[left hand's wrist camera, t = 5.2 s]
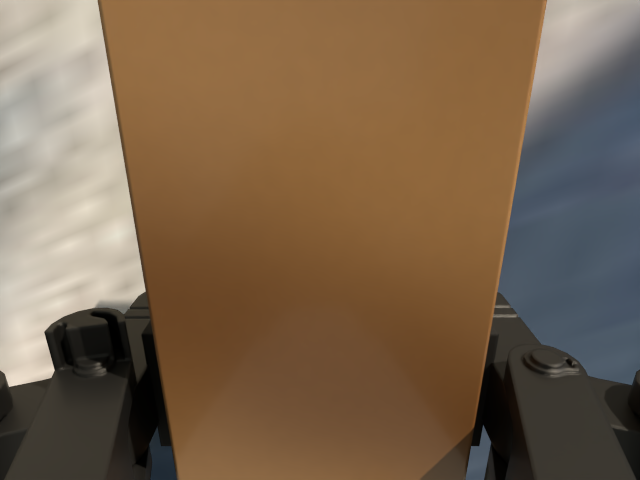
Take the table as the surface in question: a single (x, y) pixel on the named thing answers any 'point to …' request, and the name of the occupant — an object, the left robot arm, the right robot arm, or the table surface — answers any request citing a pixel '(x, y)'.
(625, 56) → the table surface
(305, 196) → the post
